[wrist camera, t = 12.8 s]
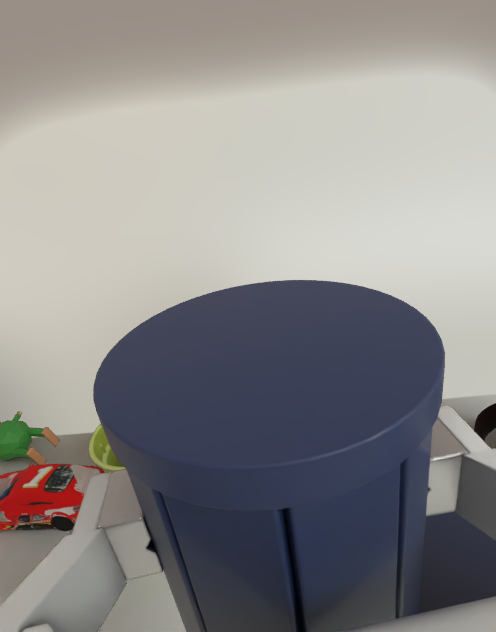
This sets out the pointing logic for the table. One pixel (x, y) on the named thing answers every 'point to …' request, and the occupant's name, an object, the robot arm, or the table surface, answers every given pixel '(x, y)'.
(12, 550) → the table surface
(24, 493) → the race car
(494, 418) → the mug
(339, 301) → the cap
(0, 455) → the figurine
